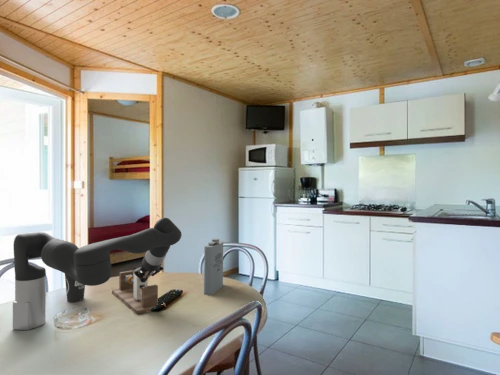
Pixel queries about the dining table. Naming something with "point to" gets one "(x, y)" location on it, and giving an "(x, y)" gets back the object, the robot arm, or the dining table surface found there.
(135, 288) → the white slider block
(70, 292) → the coffee cup
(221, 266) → the flask
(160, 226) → the robot arm
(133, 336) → the dining table surface
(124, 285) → the cord stand
